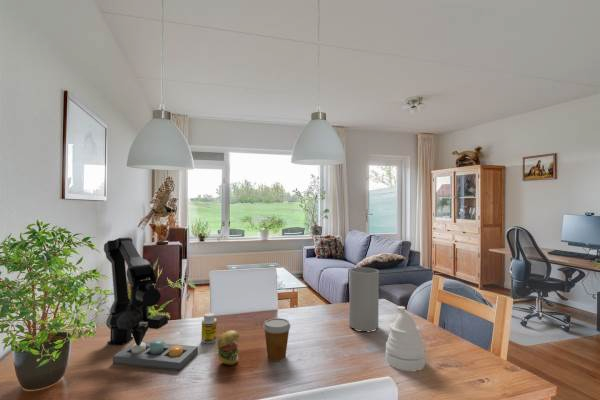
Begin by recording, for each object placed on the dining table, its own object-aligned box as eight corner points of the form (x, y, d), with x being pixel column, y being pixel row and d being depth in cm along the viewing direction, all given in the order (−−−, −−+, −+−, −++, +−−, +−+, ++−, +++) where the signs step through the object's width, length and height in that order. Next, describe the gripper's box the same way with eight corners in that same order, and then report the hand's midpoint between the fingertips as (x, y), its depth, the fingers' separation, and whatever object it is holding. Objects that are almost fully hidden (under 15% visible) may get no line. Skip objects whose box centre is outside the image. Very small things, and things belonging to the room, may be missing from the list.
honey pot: (377, 356, 113) (378, 305, 114) (406, 350, 118) (406, 301, 119) (403, 374, 101) (403, 317, 102) (433, 366, 106) (433, 312, 107)
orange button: (166, 360, 107) (166, 350, 107) (173, 354, 111) (173, 345, 111) (178, 361, 106) (178, 351, 106) (185, 355, 111) (185, 346, 111)
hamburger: (234, 369, 103) (234, 331, 104) (213, 367, 104) (213, 330, 105) (242, 358, 111) (242, 323, 111) (222, 356, 112) (223, 321, 112)
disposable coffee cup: (293, 353, 115) (294, 319, 115) (284, 365, 106) (284, 329, 106) (269, 349, 118) (270, 316, 118) (258, 360, 109) (258, 325, 109)
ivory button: (128, 356, 109) (128, 347, 109) (137, 350, 114) (137, 341, 114) (140, 357, 109) (140, 348, 109) (148, 351, 113) (148, 342, 113)
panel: (112, 363, 106) (112, 356, 106) (136, 348, 118) (137, 340, 118) (179, 370, 102) (179, 362, 102) (197, 353, 114) (198, 346, 114)
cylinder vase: (356, 320, 149) (357, 266, 150) (382, 326, 142) (383, 269, 142) (344, 328, 139) (344, 270, 140) (371, 335, 132) (371, 274, 132)
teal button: (147, 353, 108) (147, 344, 108) (155, 348, 112) (155, 339, 112) (159, 355, 107) (159, 345, 107) (166, 349, 112) (166, 340, 112)
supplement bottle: (203, 345, 121) (204, 317, 121) (199, 339, 126) (200, 313, 126) (218, 341, 124) (218, 315, 124) (213, 336, 129) (214, 311, 129)
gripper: (97, 305, 105) (96, 353, 105) (149, 309, 102) (148, 358, 102) (121, 295, 116) (120, 339, 116) (169, 299, 113) (168, 343, 113)
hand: (138, 345), depth 111 cm, fingers closed, pressing on ivory button
